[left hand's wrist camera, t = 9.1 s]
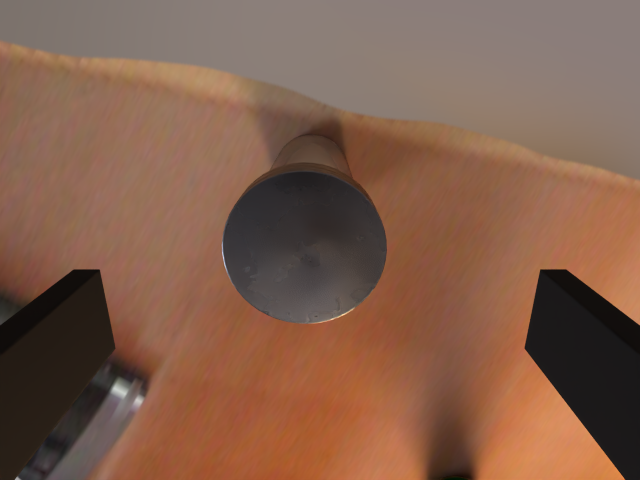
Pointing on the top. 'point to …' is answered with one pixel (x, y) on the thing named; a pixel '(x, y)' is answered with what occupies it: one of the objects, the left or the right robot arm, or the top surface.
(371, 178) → the top surface
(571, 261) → the top surface
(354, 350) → the top surface
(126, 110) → the top surface
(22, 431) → the left robot arm
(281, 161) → the screw-top jar
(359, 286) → the lid
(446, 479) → the soda can
